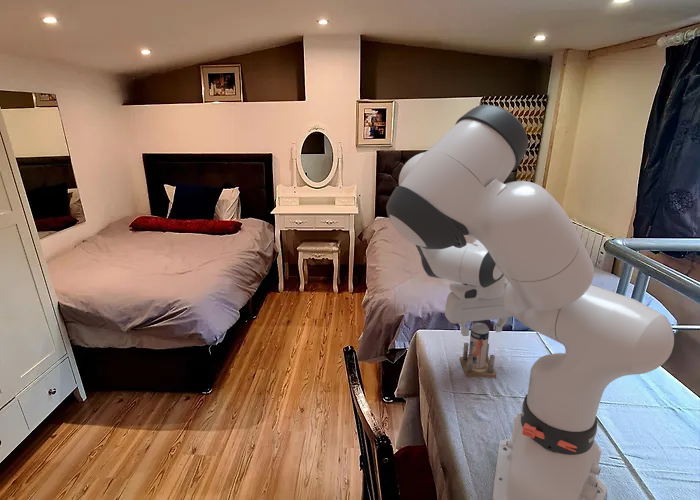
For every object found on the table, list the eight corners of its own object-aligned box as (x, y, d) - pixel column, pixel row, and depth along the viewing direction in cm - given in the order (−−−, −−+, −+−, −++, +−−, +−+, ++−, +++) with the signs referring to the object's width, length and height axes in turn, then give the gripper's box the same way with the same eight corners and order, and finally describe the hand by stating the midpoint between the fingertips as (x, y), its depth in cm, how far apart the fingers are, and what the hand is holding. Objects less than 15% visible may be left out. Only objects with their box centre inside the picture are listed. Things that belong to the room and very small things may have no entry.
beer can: (464, 361, 105) (467, 323, 101) (478, 357, 106) (482, 320, 102) (474, 371, 100) (478, 331, 97) (489, 367, 102) (493, 328, 98)
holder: (496, 378, 99) (498, 358, 97) (465, 377, 100) (467, 357, 98) (488, 360, 107) (490, 342, 105) (459, 359, 107) (461, 341, 105)
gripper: (515, 277, 100) (509, 323, 104) (443, 284, 97) (441, 331, 101) (530, 286, 94) (523, 334, 98) (454, 293, 91) (451, 343, 95)
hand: (481, 332), depth 100 cm, fingers open, 8 cm apart
